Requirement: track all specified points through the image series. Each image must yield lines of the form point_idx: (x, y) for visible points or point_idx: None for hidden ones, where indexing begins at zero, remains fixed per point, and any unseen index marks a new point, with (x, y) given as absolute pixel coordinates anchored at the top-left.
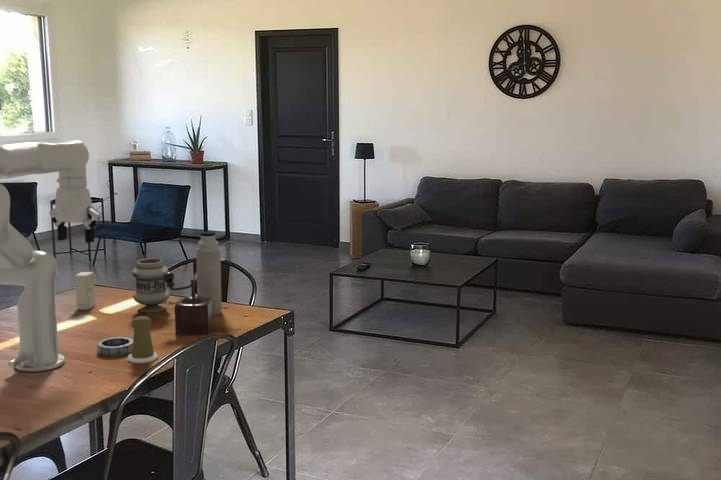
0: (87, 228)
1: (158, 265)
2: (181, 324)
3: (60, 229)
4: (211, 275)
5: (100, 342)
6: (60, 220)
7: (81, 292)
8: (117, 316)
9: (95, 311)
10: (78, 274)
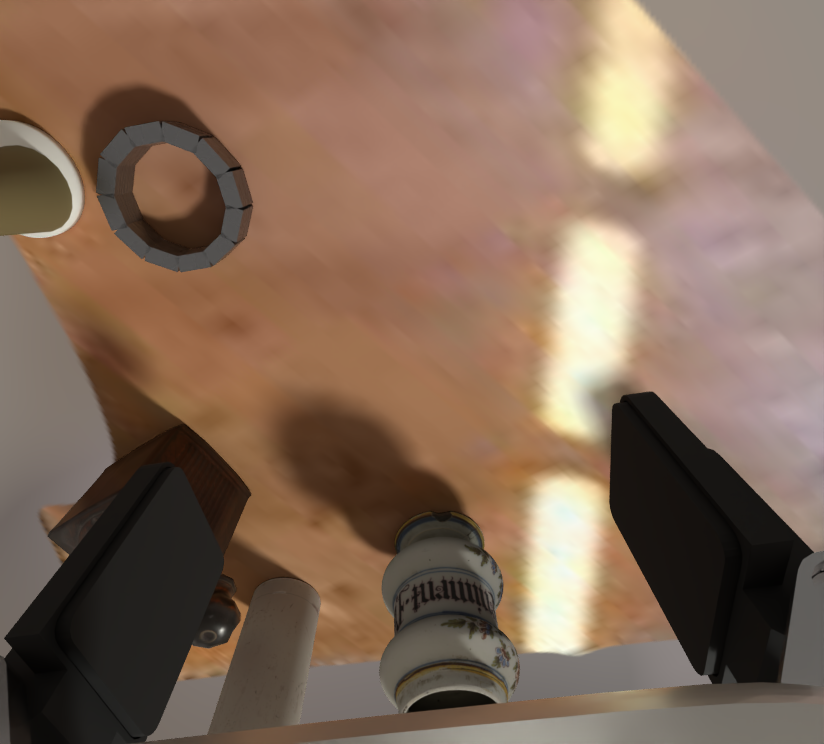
0: (2, 678)
1: (398, 703)
2: (149, 451)
3: (700, 533)
4: (215, 717)
5: (216, 166)
6: (730, 717)
7: None
8: (496, 467)
9: (603, 471)
10: None
